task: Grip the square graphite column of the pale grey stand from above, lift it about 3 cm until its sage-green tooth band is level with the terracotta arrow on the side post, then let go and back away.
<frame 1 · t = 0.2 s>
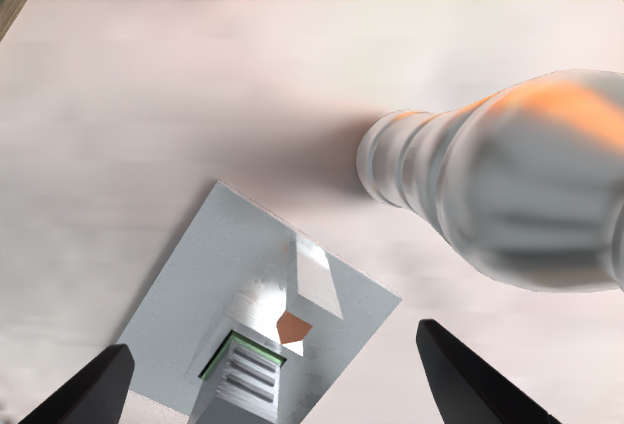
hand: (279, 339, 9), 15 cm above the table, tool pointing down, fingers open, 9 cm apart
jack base: (251, 329, 26), on the table
plastic bottle: (390, 156, 23), on the table
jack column: (240, 377, 21), point 5 cm above the table, slide at 0.0 cm
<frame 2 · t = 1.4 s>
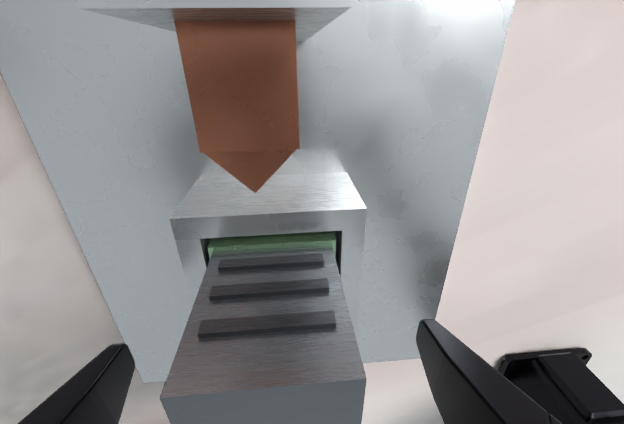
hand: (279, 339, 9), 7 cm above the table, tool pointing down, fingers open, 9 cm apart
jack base: (278, 227, 15), on the table
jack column: (276, 306, 10), point 5 cm above the table, slide at 0.0 cm
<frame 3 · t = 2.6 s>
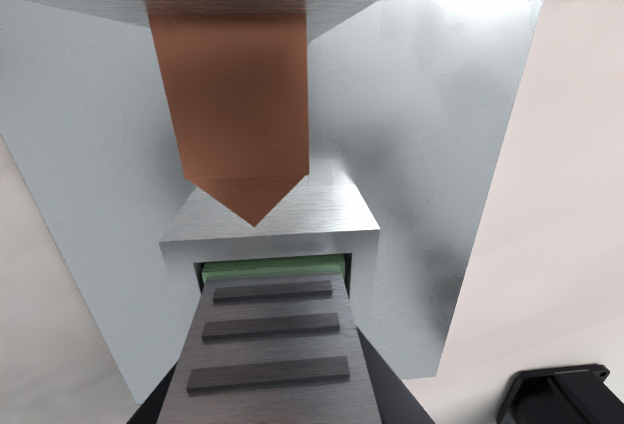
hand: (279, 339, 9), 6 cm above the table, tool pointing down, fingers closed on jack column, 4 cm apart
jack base: (280, 241, 14), on the table
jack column: (278, 336, 9), point 5 cm above the table, slide at 0.0 cm, touching gripper
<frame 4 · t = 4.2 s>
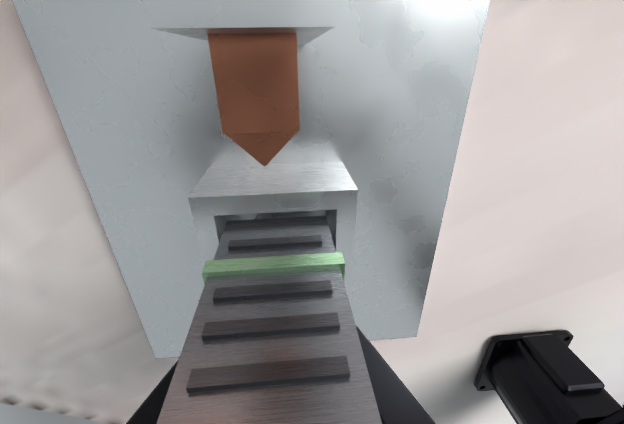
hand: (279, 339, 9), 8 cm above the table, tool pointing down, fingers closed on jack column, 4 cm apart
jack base: (280, 213, 17), on the table
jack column: (278, 336, 9), point 8 cm above the table, slide at 2.9 cm, touching gripper
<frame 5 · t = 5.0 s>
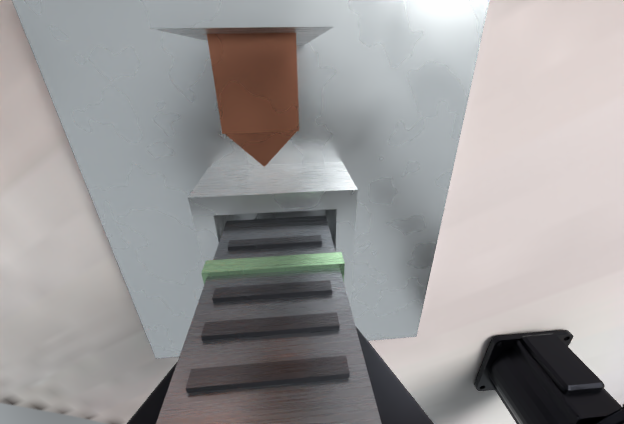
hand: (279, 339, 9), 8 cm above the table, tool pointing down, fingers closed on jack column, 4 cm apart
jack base: (280, 212, 17), on the table
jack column: (278, 336, 9), point 8 cm above the table, slide at 2.9 cm, touching gripper
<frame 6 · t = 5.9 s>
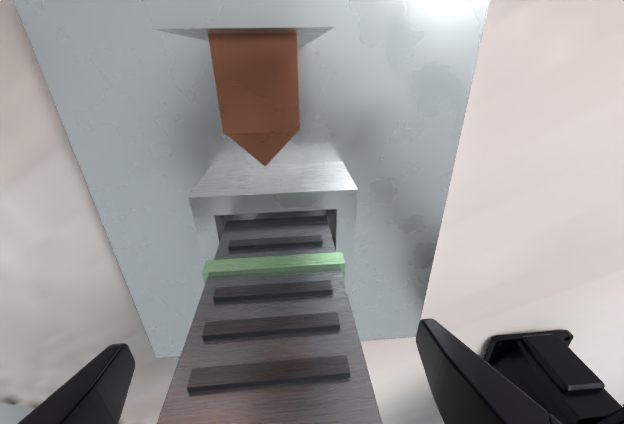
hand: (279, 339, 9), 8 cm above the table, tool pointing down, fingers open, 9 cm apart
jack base: (281, 212, 17), on the table
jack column: (279, 336, 9), point 8 cm above the table, slide at 3.0 cm
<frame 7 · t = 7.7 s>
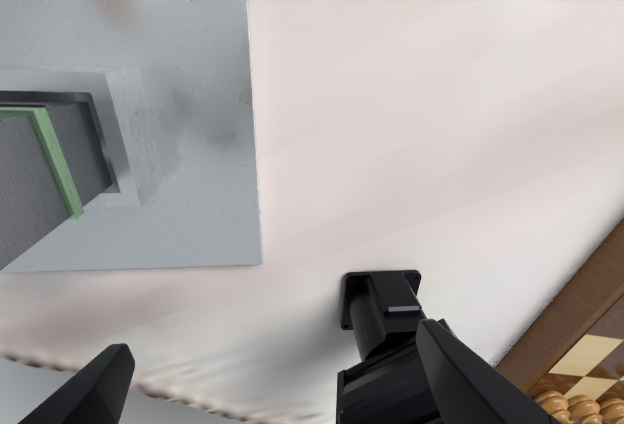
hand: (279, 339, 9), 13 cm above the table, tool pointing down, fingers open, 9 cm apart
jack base: (103, 125, 18), on the table
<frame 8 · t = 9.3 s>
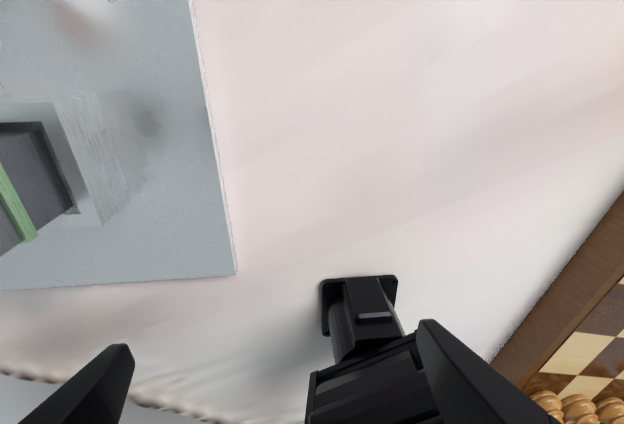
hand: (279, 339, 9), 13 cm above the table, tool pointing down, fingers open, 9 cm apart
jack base: (70, 148, 18), on the table
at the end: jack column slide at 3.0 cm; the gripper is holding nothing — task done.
